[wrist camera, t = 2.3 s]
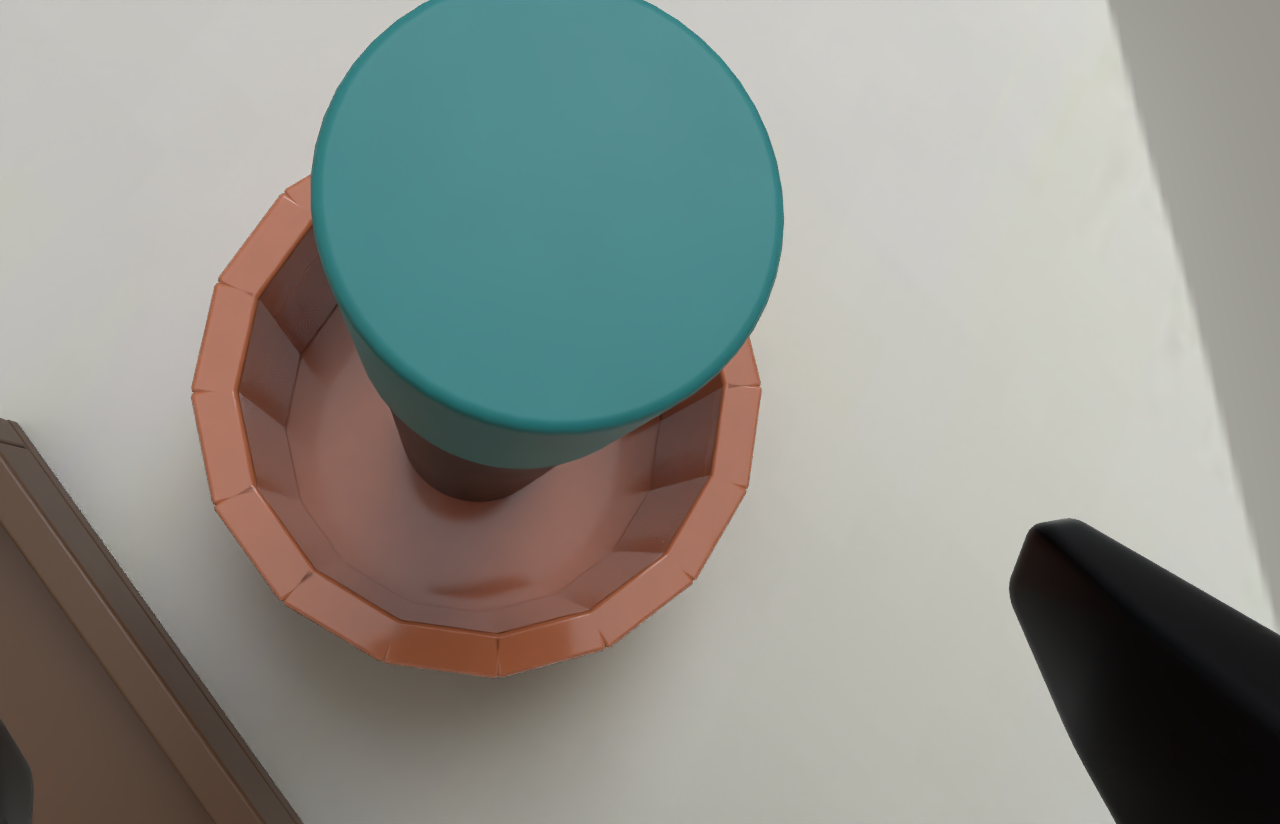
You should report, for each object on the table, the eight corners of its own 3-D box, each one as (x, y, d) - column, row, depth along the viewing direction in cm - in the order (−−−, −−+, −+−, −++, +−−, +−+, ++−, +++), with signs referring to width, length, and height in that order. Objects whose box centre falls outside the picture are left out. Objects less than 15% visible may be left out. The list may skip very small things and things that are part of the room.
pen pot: (756, 477, 20) (859, 456, 15) (423, 729, 18) (418, 796, 13) (528, 154, 20) (557, 28, 15) (170, 374, 18) (73, 311, 13)
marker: (592, 445, 19) (875, 264, 7) (458, 541, 18) (499, 533, 6) (499, 313, 19) (612, -109, 7) (361, 404, 18) (205, 118, 6)
